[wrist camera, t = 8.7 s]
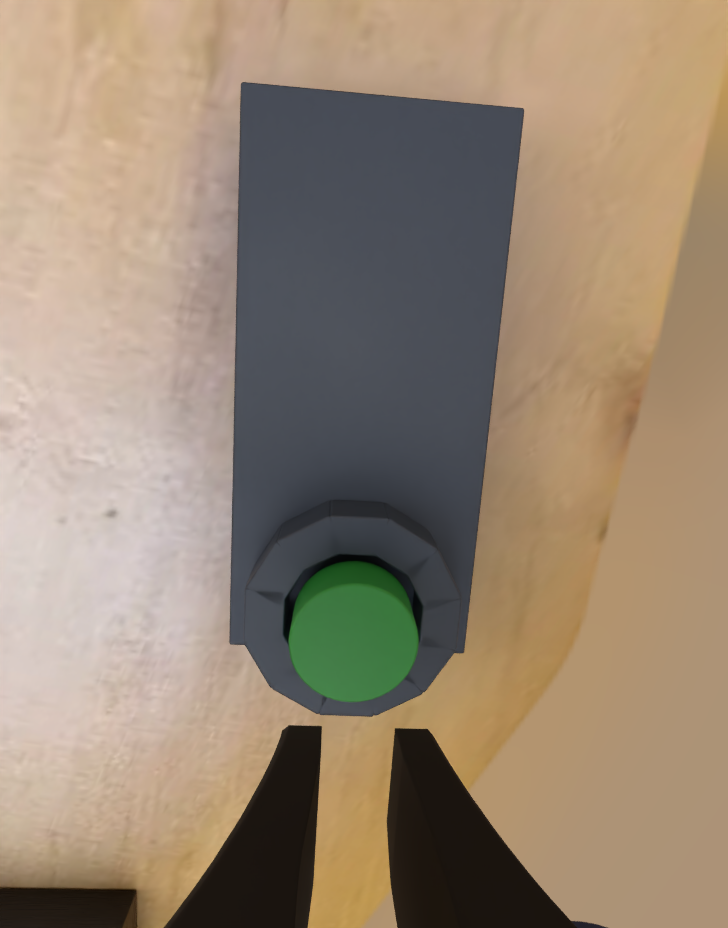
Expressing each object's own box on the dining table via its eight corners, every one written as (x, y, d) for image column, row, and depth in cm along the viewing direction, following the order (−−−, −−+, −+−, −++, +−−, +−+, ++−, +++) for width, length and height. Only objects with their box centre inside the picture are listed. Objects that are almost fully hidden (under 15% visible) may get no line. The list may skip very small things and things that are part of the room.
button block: (448, 653, 21) (473, 721, 17) (239, 645, 21) (216, 712, 17) (502, 137, 18) (548, 75, 14) (252, 114, 17) (227, 44, 13)
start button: (405, 670, 17) (413, 705, 16) (290, 666, 17) (286, 701, 15) (416, 562, 17) (424, 586, 15) (296, 557, 16) (290, 580, 15)
